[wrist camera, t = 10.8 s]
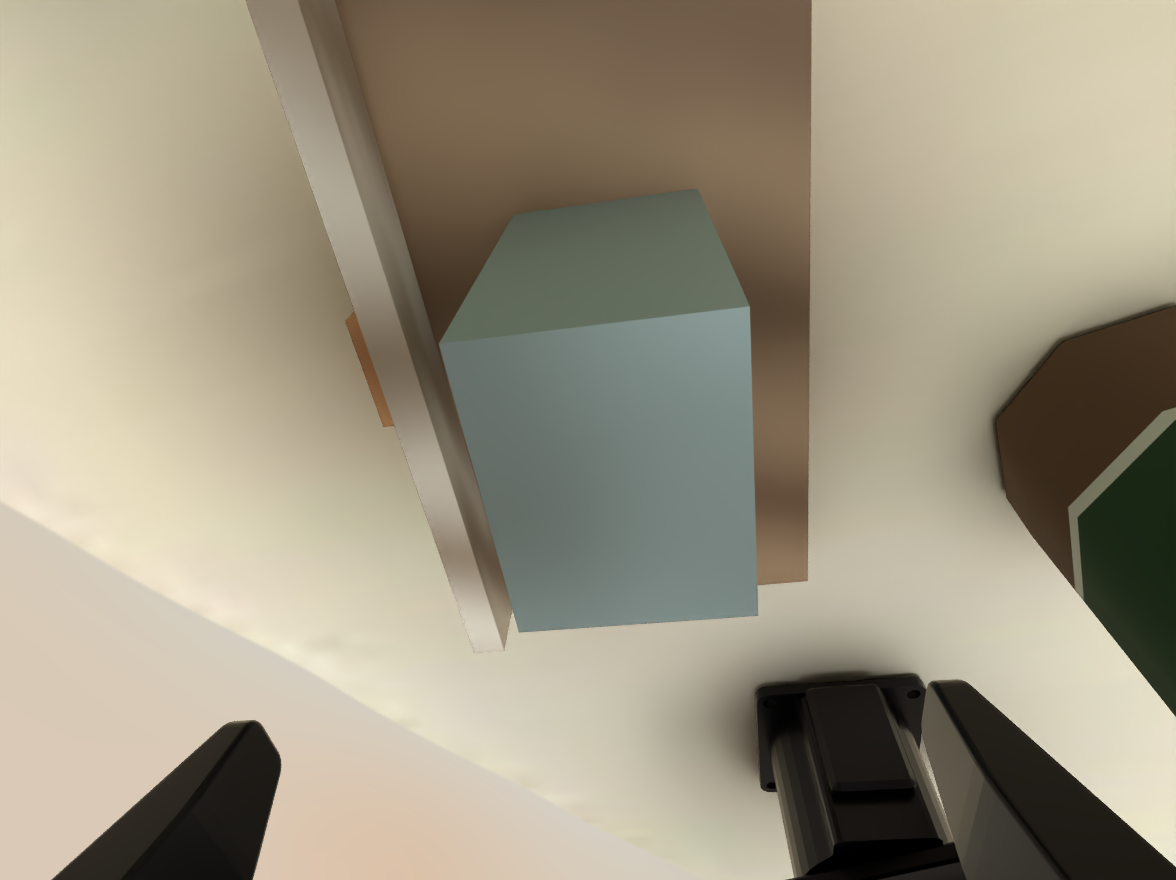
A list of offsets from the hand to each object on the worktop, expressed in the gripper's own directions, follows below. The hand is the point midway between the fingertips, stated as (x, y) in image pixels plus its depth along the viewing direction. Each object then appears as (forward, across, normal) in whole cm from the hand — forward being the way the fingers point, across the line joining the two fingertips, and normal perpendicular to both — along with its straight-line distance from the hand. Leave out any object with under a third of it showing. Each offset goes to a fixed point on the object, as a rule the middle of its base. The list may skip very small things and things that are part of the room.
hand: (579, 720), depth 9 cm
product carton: (+11, -1, -1) cm, 11 cm away
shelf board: (+13, 0, -1) cm, 13 cm away
